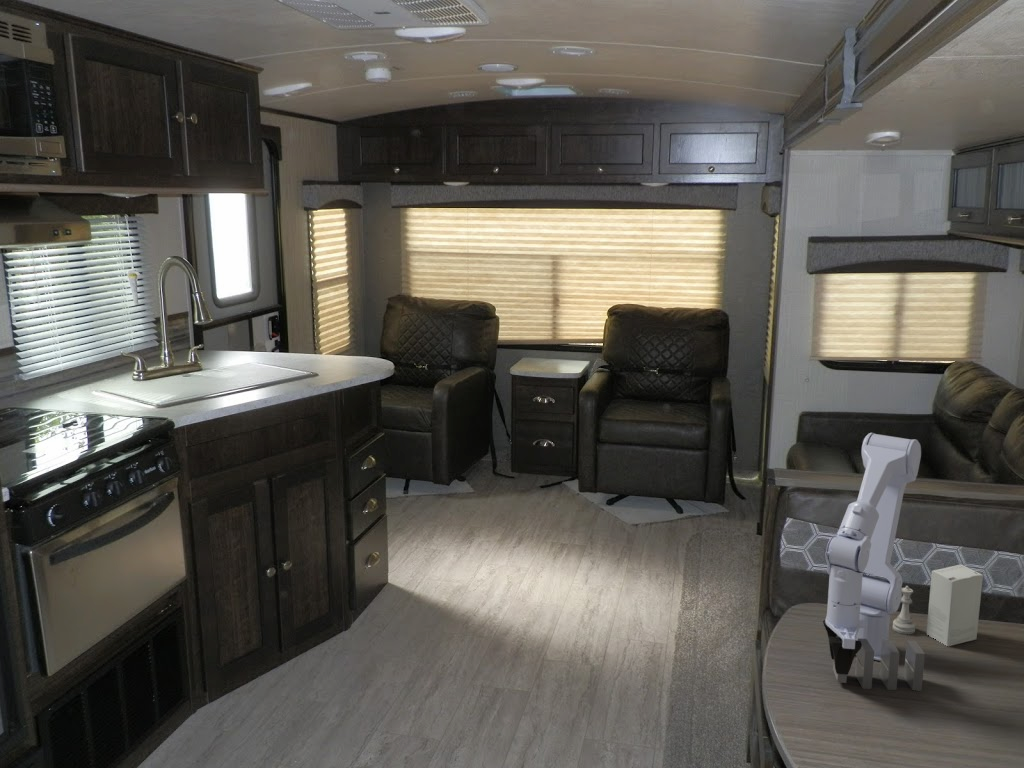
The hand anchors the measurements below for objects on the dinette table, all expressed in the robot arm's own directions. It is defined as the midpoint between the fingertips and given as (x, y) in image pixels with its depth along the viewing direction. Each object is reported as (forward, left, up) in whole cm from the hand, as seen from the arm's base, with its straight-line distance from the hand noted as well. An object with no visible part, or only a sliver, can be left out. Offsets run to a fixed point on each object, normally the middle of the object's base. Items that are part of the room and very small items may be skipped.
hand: (839, 666), depth 167 cm
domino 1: (0, 0, -2) cm, 2 cm away
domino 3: (+8, +4, -3) cm, 9 cm away
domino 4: (+12, +6, -3) cm, 14 cm away
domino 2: (+4, +2, -3) cm, 5 cm away
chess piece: (+8, +28, -3) cm, 30 cm away
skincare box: (+17, +29, -3) cm, 34 cm away
